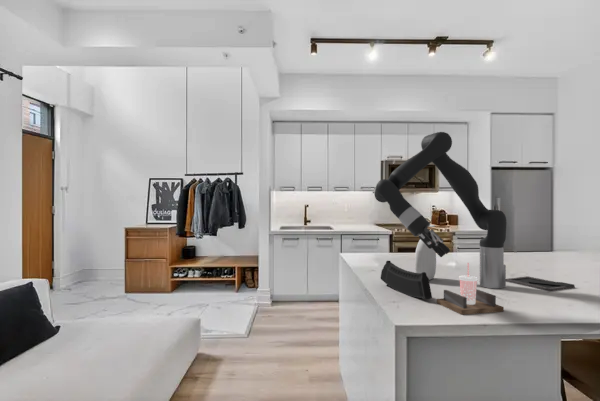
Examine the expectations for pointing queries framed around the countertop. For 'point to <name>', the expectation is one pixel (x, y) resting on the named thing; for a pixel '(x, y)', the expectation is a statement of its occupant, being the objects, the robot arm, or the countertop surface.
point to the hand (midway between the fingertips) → (446, 254)
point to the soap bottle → (425, 259)
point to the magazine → (406, 281)
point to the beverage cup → (468, 287)
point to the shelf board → (459, 305)
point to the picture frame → (540, 283)
